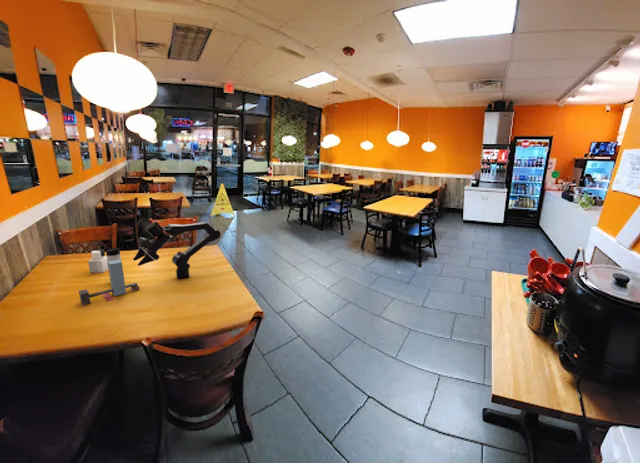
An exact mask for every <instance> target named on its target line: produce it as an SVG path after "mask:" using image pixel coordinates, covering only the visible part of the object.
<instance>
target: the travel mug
mask: <svg viewBox="0 0 640 463" xmlns="http://www.w3.org/2000/svg"><path fill="white" fill-rule="evenodd" d="M120 251H121V250H120V248H119V247H113V248H109V249H106V250H105V254H106V257H107V261H114V260H120V261H121V262H122V256H121V252H120Z"/></svg>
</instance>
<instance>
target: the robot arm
mask: <svg viewBox="0 0 640 463" xmlns="http://www.w3.org/2000/svg"><path fill="white" fill-rule="evenodd" d="M200 230H204V231H205V234H204V236H203V237H202V238H201V239H199V240H197V241H196V242H195V243H193V244H192V245H191V246H190V247H189V248H187V249H186V250H184V251H181V250H179V251H178V252H177V253H175V254H173V256H172V259H171V263H173V264H174V265H175V266H176V269H175V272H176V278H177V280H181V279H189V278H190V267H191V264H190V263H188V262H189V261H190V258H191V257H192V256H193V255H195V254H196V253H197V252H199V251H200V250H201V249H202V248H204V247H205V246H207V245H208V244H209V243H212V242H214V241H217V240H219V238H221V231H220V230H217V229H216V228H214V227H212V226H211V225H210V224H209V223H207V222H205V221H202V222H196V223H195V222H194V223H187V224H178V223H169V224H167V225H166V226H164V225H163V226H161V225H160V224H159V222H157V221H154V222H151V223H149V224H147V226H145V231H146V232H147V233H149V234H150V235H151V237H153V238H154V237H155V238H154V239H153V238H152V239H149V238H146V237H141V236H139V238H138V240H137V243H138V251H137V253H136V254H135V255H134V258H132V260H133V261H135V262H136V261H137V260H140V259H141V260H140V261H139V262H138V263H137V266H138V267H139V266H144V265H145V264H149V263H151V262H155V261H158V260H160V255H159V254H158V251H159V250H160V249H163V247H164V246H165V245H166V244H167V243H168V242H169V241H171V242H172V243H173V242H174V237H175V236H179V235H183V233H188V232H195V231H200Z"/></svg>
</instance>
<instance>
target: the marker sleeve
mask: <svg viewBox="0 0 640 463" xmlns="http://www.w3.org/2000/svg"><path fill="white" fill-rule="evenodd" d="M108 274H109V281H110V282H109V283H110V289H113V292H111V293H112V294H113V296H114V297H117V296H120V295H124V294H127V292H126V289H127V288H125V285H126V283H125V275H124V268H123V261H122V260H121V261H120V260H114V261H108Z"/></svg>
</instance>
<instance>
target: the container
mask: <svg viewBox="0 0 640 463" xmlns="http://www.w3.org/2000/svg"><path fill="white" fill-rule="evenodd" d="M90 255H91V259H88V260H87V261H88V262H87V263H88V267H89V268H88V269H89V273H103V274H104V273H105V272H106V271H109V269H108V261H107V256H106V251H105V250H104V249H101V248H100V249H99V248H98V249H94V250H92V251H91V252H90Z"/></svg>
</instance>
